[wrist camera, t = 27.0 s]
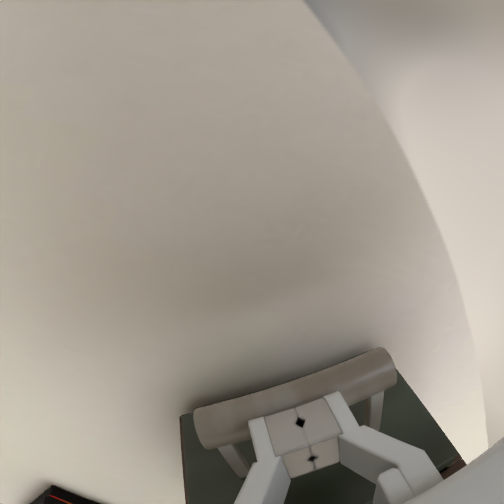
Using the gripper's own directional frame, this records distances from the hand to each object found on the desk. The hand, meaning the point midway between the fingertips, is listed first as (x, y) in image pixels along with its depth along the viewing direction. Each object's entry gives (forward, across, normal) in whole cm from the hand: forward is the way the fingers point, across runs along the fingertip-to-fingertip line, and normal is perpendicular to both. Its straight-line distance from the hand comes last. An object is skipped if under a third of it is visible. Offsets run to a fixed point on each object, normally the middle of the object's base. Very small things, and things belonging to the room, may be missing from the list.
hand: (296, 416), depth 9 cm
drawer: (+6, 0, +9) cm, 10 cm away
